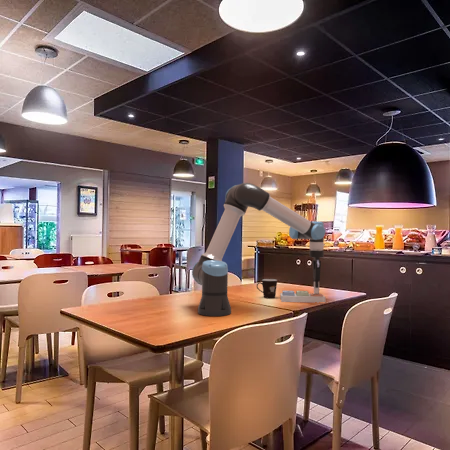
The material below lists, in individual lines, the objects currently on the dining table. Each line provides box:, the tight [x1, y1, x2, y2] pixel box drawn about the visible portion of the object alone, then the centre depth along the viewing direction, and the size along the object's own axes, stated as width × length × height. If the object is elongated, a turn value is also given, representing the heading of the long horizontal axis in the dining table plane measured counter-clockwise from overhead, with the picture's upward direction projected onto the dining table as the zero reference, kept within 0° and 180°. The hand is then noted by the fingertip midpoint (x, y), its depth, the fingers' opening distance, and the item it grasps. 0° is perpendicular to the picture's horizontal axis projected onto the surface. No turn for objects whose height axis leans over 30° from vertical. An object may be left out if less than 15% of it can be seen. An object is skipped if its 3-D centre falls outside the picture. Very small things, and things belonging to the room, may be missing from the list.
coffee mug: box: [256, 278, 278, 300], centre depth 220 cm, size 12×9×10 cm
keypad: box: [279, 292, 326, 304], centre depth 211 cm, size 23×10×3 cm, turn 86°
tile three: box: [309, 292, 324, 296], centre depth 211 cm, size 6×6×3 cm
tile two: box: [295, 290, 310, 296], centre depth 212 cm, size 6×6×3 cm
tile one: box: [281, 290, 296, 296], centre depth 212 cm, size 6×6×3 cm
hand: (316, 293), depth 211 cm, fingers closed
